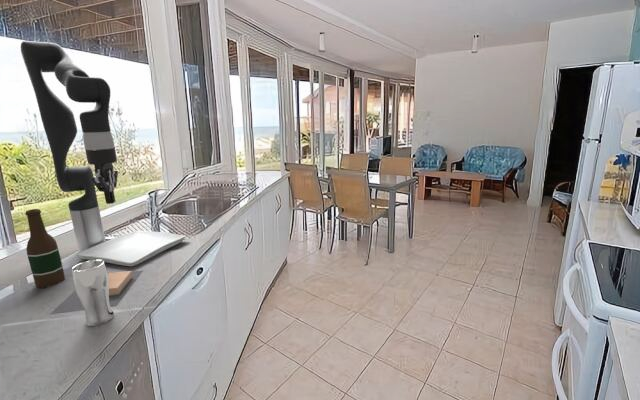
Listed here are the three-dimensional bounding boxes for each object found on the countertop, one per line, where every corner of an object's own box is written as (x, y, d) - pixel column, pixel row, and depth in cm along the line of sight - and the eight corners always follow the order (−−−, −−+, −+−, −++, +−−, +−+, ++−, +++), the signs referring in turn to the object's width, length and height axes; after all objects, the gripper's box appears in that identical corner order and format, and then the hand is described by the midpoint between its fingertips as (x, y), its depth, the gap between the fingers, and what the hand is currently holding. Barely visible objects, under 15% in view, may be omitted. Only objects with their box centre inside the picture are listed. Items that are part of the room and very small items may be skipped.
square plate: (75, 263, 119) (73, 253, 118) (138, 237, 144) (136, 229, 143) (132, 272, 110) (130, 261, 109) (188, 243, 135) (187, 234, 135)
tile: (100, 273, 102) (82, 291, 92) (131, 270, 104) (117, 287, 93) (101, 281, 103) (84, 299, 92) (132, 277, 104) (119, 295, 94)
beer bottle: (29, 290, 99) (8, 214, 94) (43, 279, 107) (24, 208, 101) (59, 286, 101) (41, 212, 96) (70, 275, 109) (54, 205, 103)
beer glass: (110, 308, 88) (99, 257, 85) (120, 317, 84) (109, 263, 80) (79, 321, 83) (66, 266, 79) (88, 331, 79) (75, 274, 75)
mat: (90, 277, 107) (90, 275, 107) (143, 271, 110) (143, 270, 109) (50, 315, 86) (49, 313, 86) (116, 307, 89) (116, 305, 88)
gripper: (96, 146, 104) (106, 199, 108) (74, 150, 91) (87, 209, 96) (122, 145, 105) (131, 197, 110) (104, 148, 93) (115, 207, 97)
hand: (110, 203), depth 103 cm, fingers closed
